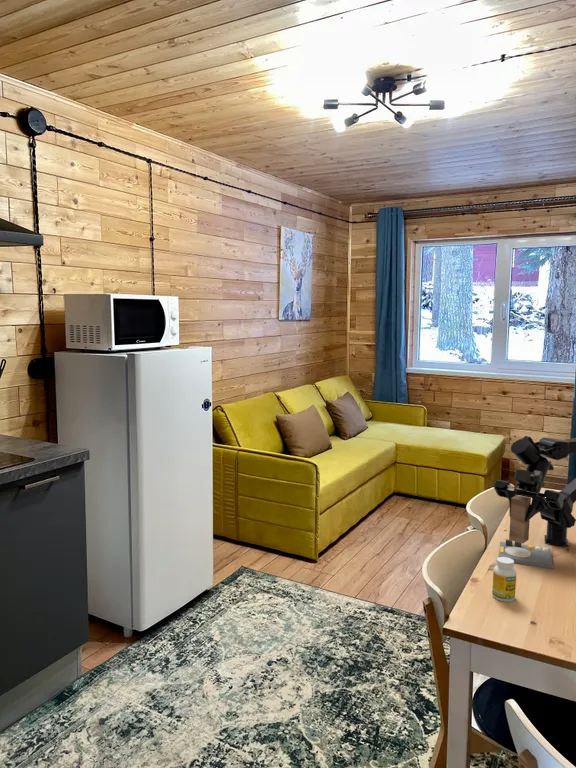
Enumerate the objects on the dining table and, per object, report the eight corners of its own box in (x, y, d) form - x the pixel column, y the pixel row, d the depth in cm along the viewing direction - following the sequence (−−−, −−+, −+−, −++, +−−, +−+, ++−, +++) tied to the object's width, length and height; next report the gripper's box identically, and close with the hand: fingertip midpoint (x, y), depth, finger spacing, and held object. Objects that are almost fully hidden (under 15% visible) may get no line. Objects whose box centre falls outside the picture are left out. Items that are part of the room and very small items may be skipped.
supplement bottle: (501, 590, 146) (503, 553, 145) (519, 598, 142) (521, 561, 141) (487, 595, 143) (489, 558, 142) (505, 604, 139) (508, 566, 138)
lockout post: (514, 536, 169) (517, 494, 168) (528, 539, 167) (530, 497, 165) (509, 539, 167) (511, 497, 165) (522, 543, 164) (525, 501, 162)
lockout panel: (500, 545, 175) (500, 536, 175) (550, 552, 170) (551, 543, 170) (498, 560, 164) (499, 551, 164) (552, 568, 159) (552, 559, 159)
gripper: (497, 453, 173) (478, 496, 167) (562, 464, 160) (545, 512, 154) (507, 473, 180) (489, 516, 173) (570, 486, 167) (554, 532, 160)
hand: (518, 518), depth 165 cm, fingers closed on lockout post, 4 cm apart
